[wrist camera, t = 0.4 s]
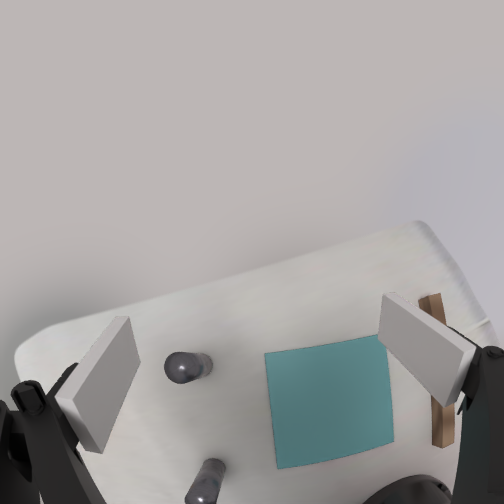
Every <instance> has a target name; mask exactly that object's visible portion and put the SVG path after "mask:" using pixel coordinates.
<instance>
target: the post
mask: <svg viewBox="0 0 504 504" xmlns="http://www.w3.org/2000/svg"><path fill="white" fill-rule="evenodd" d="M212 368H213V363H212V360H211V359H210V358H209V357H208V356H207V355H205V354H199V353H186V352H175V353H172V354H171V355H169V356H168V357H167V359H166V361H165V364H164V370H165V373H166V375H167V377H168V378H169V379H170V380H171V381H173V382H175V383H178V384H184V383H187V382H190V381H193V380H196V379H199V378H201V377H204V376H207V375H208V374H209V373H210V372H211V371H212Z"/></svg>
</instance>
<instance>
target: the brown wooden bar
mask: <svg viewBox="0 0 504 504" xmlns="http://www.w3.org/2000/svg"><path fill="white" fill-rule="evenodd" d="M418 301H419V306H420V309H421V310H423V311H424V312H426V313H427V314H429V315H430V316H432V317H433V318H435V319H436V320H438V321H439V322H441V323H442V324H444V325H446V319H445V313H444V308H443V303H442V298H441V294H440V293H438V294H434V295H430V296H427V297H425V298H423V299H420V300H418ZM446 326H447V325H446ZM431 402H432V445H434V446H437V447H439V448H442V449H443V448H444V447H446V446H448V445H450V444H452V443H454V427H455V412H454V403H453V404H451V405H449V406H447V407H445V408H443V407H442V405H441V404H440V403H439V402H438V401H437V400H436V399H435V398H434V397H433V396H432V395H431Z"/></svg>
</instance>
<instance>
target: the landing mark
mask: <svg viewBox="0 0 504 504" xmlns="http://www.w3.org/2000/svg"><path fill="white" fill-rule="evenodd" d="M377 338H378V335H373V336H369V337H364V338H359V339H354V340H349V341H344V342H339V343H333V344H328V345H322V346H316V347H310V348H303V349H296V350H289V351H282V352H274V353H265V361H266V370H267V379H268V388H269V397H270V406H271V414H272V423H273V432H274V441H275V450H276V459H277V468H278V469H283V468H290V467H297V466H303V465H308V464H314V463H319V462H323V461H328V460H333V459H337V458H341V457H345V456H349V455H353V454H356V453H360V452H363V451H367V450H370V449H373V448H376V447H379V446H383V445H385V444H388V443H391V442H394V434H393V413H392V399H391V387H390V377H389V368H388V360H387V352H386V347H385V346H384V345H383V344H382V343H381V342H380V341H379V340H378V339H377Z"/></svg>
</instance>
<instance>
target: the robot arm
mask: <svg viewBox="0 0 504 504" xmlns="http://www.w3.org/2000/svg"><path fill="white" fill-rule="evenodd" d="M377 339H378V340H379V341H380V342H381V343H382V344H383V345H384V346H385V347H386V348H387V349H388V350H389V351H390V352H391V353H392V354H393V355H394V356H395V357H396V358H397V359H398V360H399V361H400V362H401V363H402V364H403V365H404V367H405V368H406V369H407V370H408V371H409V372H410V373H411V374H412V375H413V376H414V377H415V378H416V379H417V380H418V381H419V382H420V383H421V384H422V385H423V386H424V387H425V388H426V389H427V391H428V392H429V393H430V394H431V395H432V396H433V397H434V398H435V399H436V400H437V401H438V402H439V403H440V404H441V405H442V407H443V408H445V407H447V406H449V405H451V404H453V403H455V402H456V401H457V399H458V397H459V394H460V392H461V391H462V392H463V393H464V394H465V397H464V399H463V401H462V403H461V406H460V408H459V410H458V413H457V415H459V414H460V412H461V411H462V410H463V411H462V430H461V442H460V452H459V460H458V467H457V473H456V479H455V484H454V489H453V494H451V493H450V491H449V489H448V488H447V486H446V485H445V484H444V483H443V482H441V481H439V480H437V479H436V478H434V477H431V476H428V475H416V476H411V477H407V478H404V479H401V480H399V481H396V482H394V483H392V484H390V485H389V486H387V487H385V488H383V489H382V490H380V491H379V492H377V493H376V494H375V495H373V496H372V497H371V498H370V499H368V500H367V501H366V502H365V503H364V504H504V350H503V349H501V348H499V347H496V346H487V347H484V348H483V349H482V348H481V347H480V346H478V345H477V344H475V343H474V342H472V341H471V340H469V339H468V338H467V337H464V335H462V334H461V333H460V334H459V332H458V331H456V330H455V329H453V328H451V327H449V326H446V325H444V324H442V323H441V322H439V321H438V320H436V319H435V318H433V317H432V316H430V315H429V314H427V313H426V312H424V311H423V310H421V309H420V308H418V307H417V306H415V305H414V304H412V303H410V302H409V301H407V300H406V299H404V298H403V297H401V296H400V295H398V294H396V293H395V292H392V293H386V294H383V296H382V306H381V315H380V323H379V331H378V338H377ZM140 363H141V362H140V358H139V355H138V351H137V347H136V343H135V339H134V335H133V331H132V327H131V322H130V318H129V316H127V317H115V318H114V319H113V321H112V322H111V323H110V324H109V326H108V327H107V328H106V329H105V331H104V332H103V333H102V334H101V336H100V337H99V338H98V339H97V341H96V342H95V343H94V344H93V346H92V347H91V348H90V350H89V351H88V352H87V353H86V355H85V356H84V357H83V359H82V360H81V361H80V363H74V364H73V365H71V366H70V367H68V368H67V369H66V370H65V371H64V373H63V374H62V375H61V376H62V377H60V378H59V379H58V380H57V382H56V383H55V384H54V386H53V387H52V388H51V390H50V391H49V392H48V394H47V395H45V393H44V391H43V389H42V387H41V385H40V383H39V382H37V381H33V380H28V381H24V382H21V383H19V384H18V385H16V386H15V387H14V388H13V389H12V391H11V397H12V398H13V400H14V402H15V404H16V406H17V407H18V409H19V411H10V410H9V408H8V407H7V405H6V403H5V402H4V401H2V400H0V504H40V494H41V497H42V500H43V502H44V504H107V503H106V502H105V500H104V498H103V497H102V495H101V493H100V492H99V490H98V488H97V486H96V485H95V483H94V481H93V479H92V477H91V475H90V474H89V472H88V470H87V468H86V466H85V464H84V462H83V460H82V457H81V455H80V453H79V452H78V450H77V449H76V446H77V444H78V442H79V441H80V443H81V445H82V446H83V448H84V449H85V451H90V452H95V453H100V454H103V451H104V449H105V446H106V443H107V441H108V438H109V436H110V433H111V431H112V428H113V426H114V423H115V421H116V418H117V416H118V414H119V411H120V409H121V406H122V404H123V402H124V399H125V397H126V395H127V392H128V390H129V388H130V385H131V383H132V381H133V378H134V376H135V374H136V372H137V369H138V367H139V365H140ZM39 491H40V494H39Z"/></svg>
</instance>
